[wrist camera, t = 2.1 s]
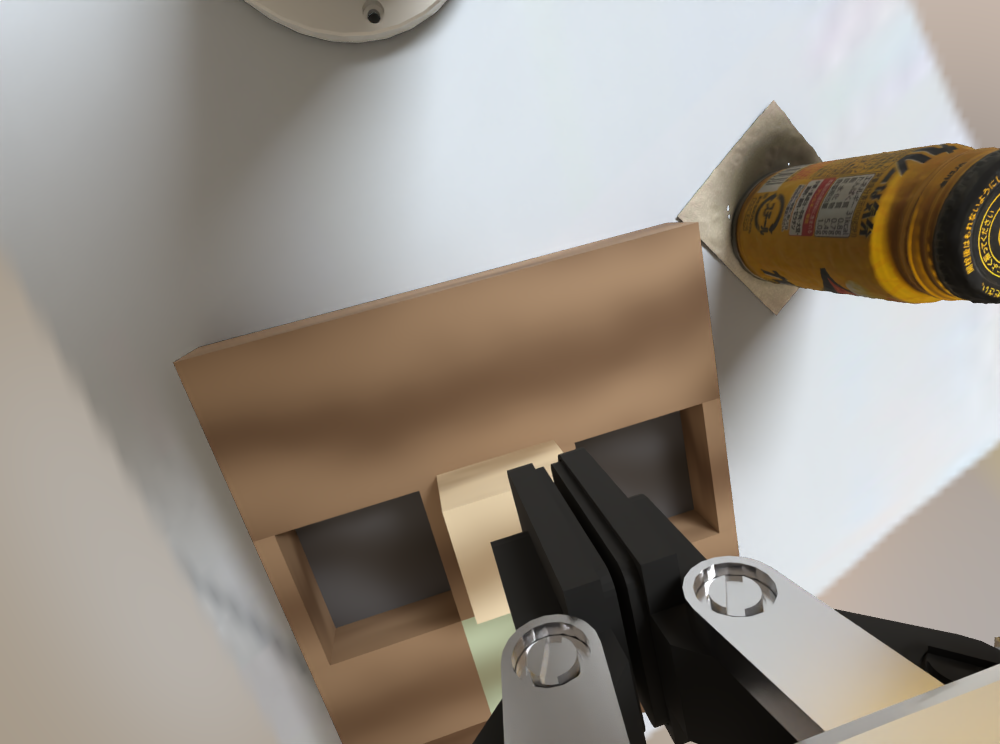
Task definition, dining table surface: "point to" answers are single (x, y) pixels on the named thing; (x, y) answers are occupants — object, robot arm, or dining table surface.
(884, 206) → the condiment
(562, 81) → the dining table surface
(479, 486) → the maple block
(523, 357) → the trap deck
